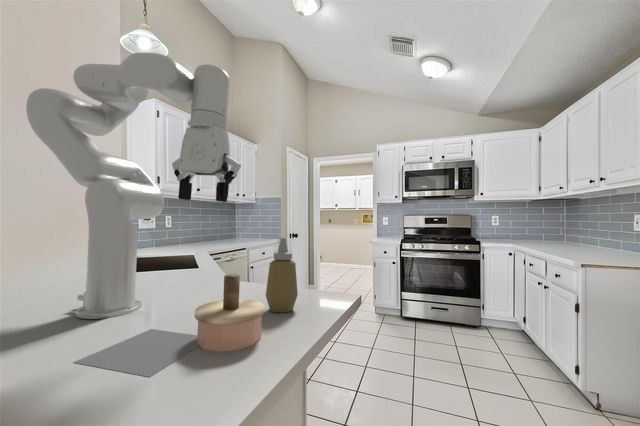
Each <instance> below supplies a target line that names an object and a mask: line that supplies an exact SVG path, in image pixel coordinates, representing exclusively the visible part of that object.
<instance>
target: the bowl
mask: <svg viewBox="0 0 640 426" xmlns="http://www.w3.org/2000/svg"><path fill="white" fill-rule="evenodd" d="M262 316H263V315H262ZM262 316H260V317H258V318H256V319H253V320H250V321H246V322H241V323H234V324H209V323H204V322H200V321H198V320H197V335H198V336H197V344H199V345H200V346H199V347H200V348H202V349H203V350H205V351H211V352H212V351H213V352H219V353H221V352H222V353H223V352H232V351H240V350H242V349H246V348H249V347H251V346H254V345H255V344H256V343H257V342H259V341H260V340H261V339H262V318H263V317H262Z"/></svg>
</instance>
